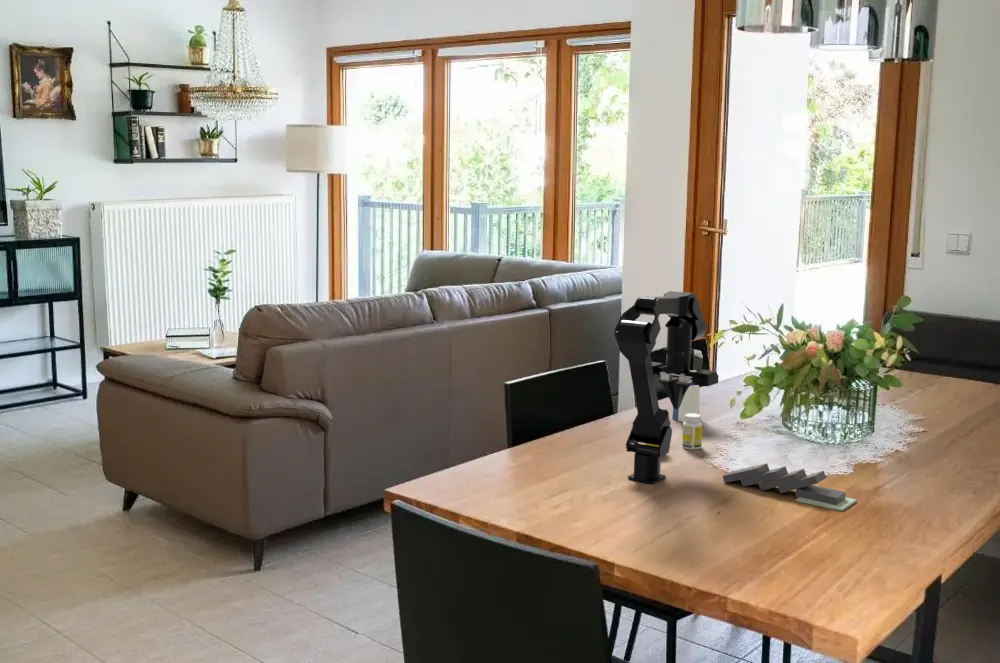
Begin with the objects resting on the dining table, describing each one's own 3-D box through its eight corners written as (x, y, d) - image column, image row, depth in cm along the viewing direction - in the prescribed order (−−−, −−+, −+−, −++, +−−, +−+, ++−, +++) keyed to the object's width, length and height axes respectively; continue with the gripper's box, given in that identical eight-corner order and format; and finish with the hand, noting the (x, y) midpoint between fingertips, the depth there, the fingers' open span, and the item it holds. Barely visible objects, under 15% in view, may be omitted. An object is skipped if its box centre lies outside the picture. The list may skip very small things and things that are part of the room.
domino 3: (770, 485, 233) (806, 475, 227) (761, 490, 229) (797, 480, 224) (768, 478, 233) (803, 468, 228) (758, 484, 229) (794, 473, 224)
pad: (842, 511, 216) (842, 509, 216) (796, 500, 223) (796, 498, 223) (856, 501, 223) (856, 499, 222) (811, 492, 229) (811, 489, 229)
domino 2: (752, 481, 236) (787, 473, 230) (742, 486, 232) (778, 478, 226) (750, 474, 236) (785, 466, 230) (740, 479, 232) (775, 471, 226)
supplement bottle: (700, 445, 265) (701, 413, 264) (702, 450, 261) (703, 417, 259) (681, 444, 266) (682, 412, 264) (682, 449, 261) (684, 417, 260)
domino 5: (804, 490, 228) (845, 499, 222) (795, 496, 224) (836, 505, 219) (805, 483, 228) (845, 492, 222) (795, 489, 224) (836, 497, 218)
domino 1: (734, 477, 239) (769, 470, 233) (724, 482, 235) (759, 475, 229) (732, 471, 239) (767, 463, 233) (722, 476, 235) (757, 468, 229)
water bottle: (663, 416, 294) (666, 329, 290) (688, 413, 298) (692, 327, 294) (680, 423, 287) (683, 334, 283) (705, 420, 290) (709, 332, 286)
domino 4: (789, 487, 230) (826, 477, 225) (780, 493, 226) (817, 483, 221) (787, 480, 230) (823, 470, 225) (777, 486, 227) (814, 476, 221)
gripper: (730, 345, 246) (727, 409, 249) (661, 336, 258) (659, 397, 260) (708, 351, 238) (705, 417, 240) (638, 341, 249) (636, 405, 252)
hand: (676, 409), depth 248 cm, fingers closed
